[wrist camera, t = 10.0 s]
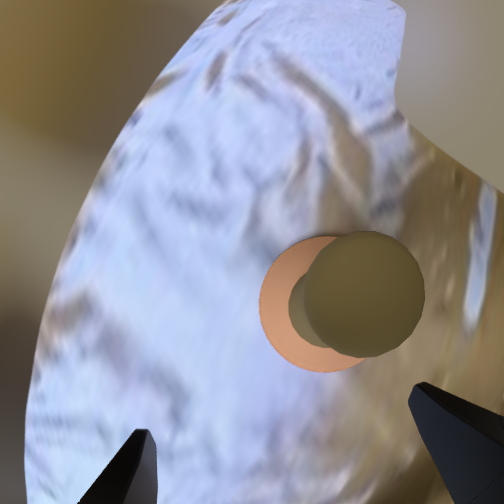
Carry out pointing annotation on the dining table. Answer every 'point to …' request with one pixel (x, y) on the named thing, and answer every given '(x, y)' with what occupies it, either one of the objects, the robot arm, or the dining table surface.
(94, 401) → the dining table surface
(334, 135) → the dining table surface
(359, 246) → the cork
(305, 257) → the peach round disc
